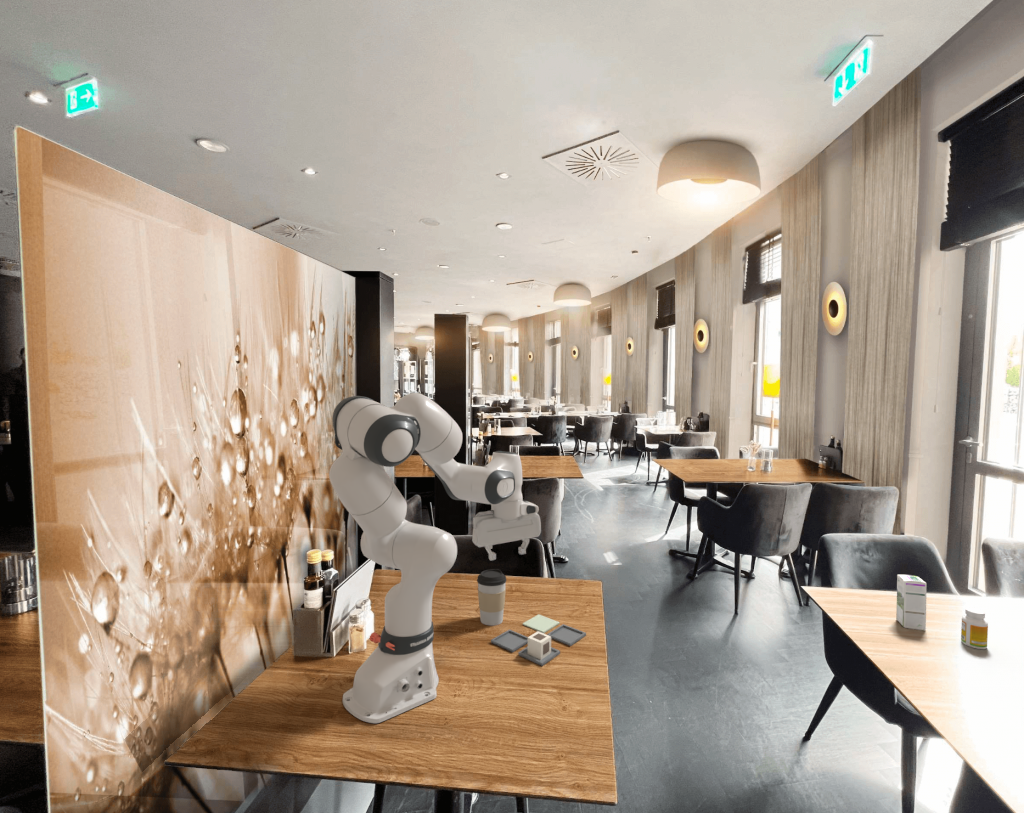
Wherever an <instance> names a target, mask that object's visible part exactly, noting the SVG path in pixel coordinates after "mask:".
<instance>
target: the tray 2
mask: <svg viewBox="0 0 1024 813" xmlns="http://www.w3.org/2000/svg"><path fill="white" fill-rule="evenodd" d="M560 654H561V650H559V649H557V648H555V647H552V646H551V653H550V654H549V655H547V656H546V657H545V658H543V659H542V660H540V659H538V658H536V657H533V656H531V655H529V654H528V646H526V647H524V648H522V649H521V650H520V651H518V654H517V655H518V656H519V657H521V658H523V659H525V660H527V661H530V662H532V663H534V664H536V665H538V666H541V667H543V666H545V665H546V664H548V663H549V662H550V661H552V660H553V659H556V657H558V656H559V655H560Z"/></svg>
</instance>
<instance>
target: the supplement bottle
mask: <svg viewBox="0 0 1024 813" xmlns="http://www.w3.org/2000/svg"><path fill="white" fill-rule="evenodd" d="M964 612H965V615H962V617H961V628H960V629H961V630H960V632H961V633H960V641H961V643H962V644H963V645H965V646H967V647H970V648H972V649H977V650H985V649H987V648H988V634H989V622H988V621H987V620H986V619H985V618H986V613H985V612H984V611H983V610H981V609H978V608H975V607H974V608H973V607H965V611H964Z"/></svg>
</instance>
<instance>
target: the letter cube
mask: <svg viewBox="0 0 1024 813" xmlns="http://www.w3.org/2000/svg"><path fill="white" fill-rule="evenodd" d="M527 637H528V643H527V647H528V654H529V655H531V656H533V657H536V658H538V659H540V660H542V659H543V658H545V657H546V656H547V655H549V654H550V653H551V647H552V639H551V636H549V635H547V634H546V633H542V632H539V631H537V630H536V632H534V633H532V634H531V635H529V636H527Z"/></svg>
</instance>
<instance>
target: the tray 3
mask: <svg viewBox="0 0 1024 813" xmlns="http://www.w3.org/2000/svg"><path fill="white" fill-rule="evenodd" d="M546 635H549V636H551V640H554V641H557V642H559V643H562V644H564V645H567V646H569V647H572V646H573V645H575V644H576V643H577V642H579V641H581V640H582V639H583V638H585V637H586V636H587V632H585V631H583V630H580V629H578V628H577V629H576V628H574V627H573V626H569V625H568V624H564V623H563V624H561V625H559V626H558V627H557V628H554V629H553V630H552V631H550V632H549V633H547V634H546Z"/></svg>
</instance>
